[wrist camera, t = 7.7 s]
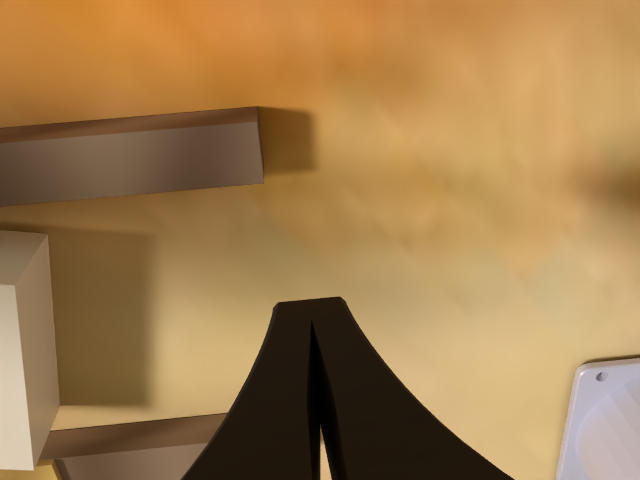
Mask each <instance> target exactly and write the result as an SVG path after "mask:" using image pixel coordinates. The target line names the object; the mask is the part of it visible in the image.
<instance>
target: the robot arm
mask: <svg viewBox="0 0 640 480" xmlns="http://www.w3.org/2000/svg"><path fill="white" fill-rule="evenodd" d="M601 372H602V373H601ZM599 373H601V374H599ZM598 374H599V375H598ZM320 424H321V429H322V434H323V439H324V444H325V449H326V453H327V458H328V463H329V468H330V473H331V478H332V480H514V479H513V478H511V477H510V476H508V475H507V474H505V473H504V472H502V471H501V470H500V469H499V468H497V467H496V466H495V465H493V464H492V463H491V462H489V461H488V460H487V459H485V458H484V457H483V456H481V455H480V454H479V453H478V452H476V451H475V450H474V449H472V448H471V447H470V446H468V445H467V444H466V443H464V442H463V441H462V440H461V439H460V438H458V437H457V436H456V435H455V434H454V433H453V432H452V431H450V430H449V429H448V428H447V427H446V426H445V425H444V424H442V423H441V422H440V421H439V420H438V419H437V418H436V417H435V416H434V415H433V414H432V413H431V412H430V411H429V410H427V409H426V408H425V407H424V406H423V405H422V404H421V403H420V402H419V401H418V400H417V398H416V397H415V396H414V395H413V394H412V393H411V392H410V391H409V390H408V389H407V388H406V387H405V385H404V384H403V383H402V382H401V381H400V380H399V379H398V378H397V376H396V375H395V374H394V373H393V372H392V370H391V369H390V368H389V367H388V366H387V364H386V363H385V362H384V360H383V359H382V358H381V357H380V355H379V354H378V353H377V351H376V350H375V349H374V347H373V346H372V345H371V343H370V342H369V340H368V339H367V338H366V336H365V335H364V333H363V332H362V330H361V329H360V327H359V325H358V324H357V322H356V321H355V319H354V317H353V315H352V314H351V312H350V310H349V308H348V306H347V304H346V301H345V300H344V299H342V298H341V297H329V298H319V299H308V300H298V301H288V302H278V303H277V304H276V305H275V307H274V308H273V313H272V317H271V321H270V324H269V327H268V330H267V333H266V336H265V339H264V341H263V344H262V346H261V349H260V351H259V353H258V356H257V358H256V360H255V362H254V365H253V367H252V369H251V371H250V373H249V375H248V377H247V379H246V381H245V383H244V385H243V387H242V388H241V390H240V392H239V394H238V396H237V398H236V400H235V401H234V403H233V405H232V407H231V409H230V410H229V412H228V413H227V415H226V417H225V418H224V420H223V422H222V423H221V425H220V426H219V428H218V429H217V431H216V432H215V434H214V435H213V437H212V438H211V440H210V441H209V443H208V444H207V445H206V447H205V448H204V449H203V451H202V452H201V453H200V455H199V456H198V457H197V459H196V460H195V461H194V463H193V464H192V465H191V467H190V468H189V469H188V471H187V472H186V473H185V474H184V476H183V477H182V478H181V479H180V480H320ZM555 480H640V358H634V359H624V360H614V361H605V362H595V363H587V364H583V365H582V366H580V367H579V368H578V369H577V370H576V372H575V376H574V382H573V387H572V392H571V398H570V403H569V408H568V414H567V419H566V424H565V430H564V435H563V440H562V446H561V451H560V456H559V462H558V467H557V472H556V477H555Z"/></svg>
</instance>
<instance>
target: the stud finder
mask: <svg viewBox="0 0 640 480" xmlns="http://www.w3.org/2000/svg"><path fill="white" fill-rule="evenodd" d="M59 407H60V398H59V384H58V370H57V356H56V342H55V328H54V314H53V300H52V286H51V272H50V258H49V244H48V234H42V233H31V232H20V231H9V230H0V469H5V470H33V471H34V469H35V467H36V464H37V462H38V459H39V457H40V454H41V452H42V449H43V447H44V444H45V442H46V439H47V437H48V434H49V432H50V429H51V427H52V424H53V422H54V419H55V417H56V414H57V412H58V409H59Z"/></svg>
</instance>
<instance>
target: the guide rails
mask: <svg viewBox="0 0 640 480" xmlns="http://www.w3.org/2000/svg"><path fill="white" fill-rule="evenodd" d="M262 183H264V160H263V151H262V142H261V134H260V125H259V116H258V108H257V107H245V108H233V109H221V110H209V111H198V112H186V113H174V114H162V115H150V116H138V117H126V118H115V119H103V120H91V121H79V122H67V123H55V124H43V125H32V126H20V127H8V128H0V207H3V206H14V205H25V204H37V203H48V202H59V201H70V200H82V199H93V198H104V197H116V196H127V195H138V194H149V193H161V192H172V191H183V190H194V189H206V188H217V187H228V186H239V185H251V184H262ZM226 415H227V414H217V415H207V416H197V417H188V418H178V419H168V420H158V421H148V422H139V423H129V424H119V425H109V426H100V427H90V428H80V429H70V430H60V431H51V432H49V434H48V437H47V439H46V442H45V444H44V447H43V449H42V452H41V454H40V457H39V459H38V462H37V464H36V467H35V469H34V471H33V470H5V469H0V480H180V479H181V478H182V477H183V476H184V474H185V473H186V472H187V471H188V469H189V468H190V467H191V465H192V464H193V463H194V461H195V460H196V459H197V457H198V456H199V455H200V453H201V452H202V451H203V449H204V448H205V447H206V445H207V444H208V443H209V441H210V440H211V438H212V437H213V435H214V434H215V432H216V431H217V429H218V428H219V426H220V425H221V423H222V422H223V420H224V418H225V417H226Z"/></svg>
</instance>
